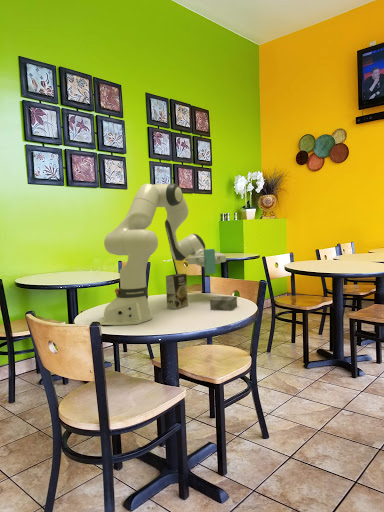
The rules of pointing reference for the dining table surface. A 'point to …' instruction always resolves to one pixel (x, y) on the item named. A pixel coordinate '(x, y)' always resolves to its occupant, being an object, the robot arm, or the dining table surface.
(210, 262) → the teal pillar
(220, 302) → the charcoal block
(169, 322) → the dining table surface
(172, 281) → the coffee box
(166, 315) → the dining table surface
